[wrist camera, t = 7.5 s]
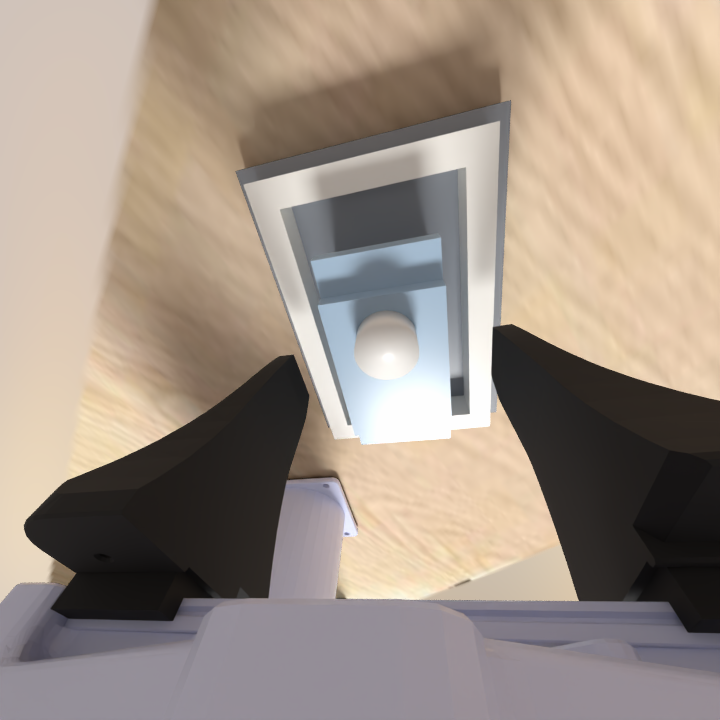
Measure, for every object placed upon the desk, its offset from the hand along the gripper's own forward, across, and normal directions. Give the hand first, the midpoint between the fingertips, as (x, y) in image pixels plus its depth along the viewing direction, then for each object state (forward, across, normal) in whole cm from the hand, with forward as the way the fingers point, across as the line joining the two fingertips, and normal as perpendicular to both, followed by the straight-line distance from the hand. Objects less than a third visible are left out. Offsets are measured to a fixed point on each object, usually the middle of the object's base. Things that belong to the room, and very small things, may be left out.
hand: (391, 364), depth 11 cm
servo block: (+4, 0, 0) cm, 4 cm away
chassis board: (+5, 0, 0) cm, 5 cm away
